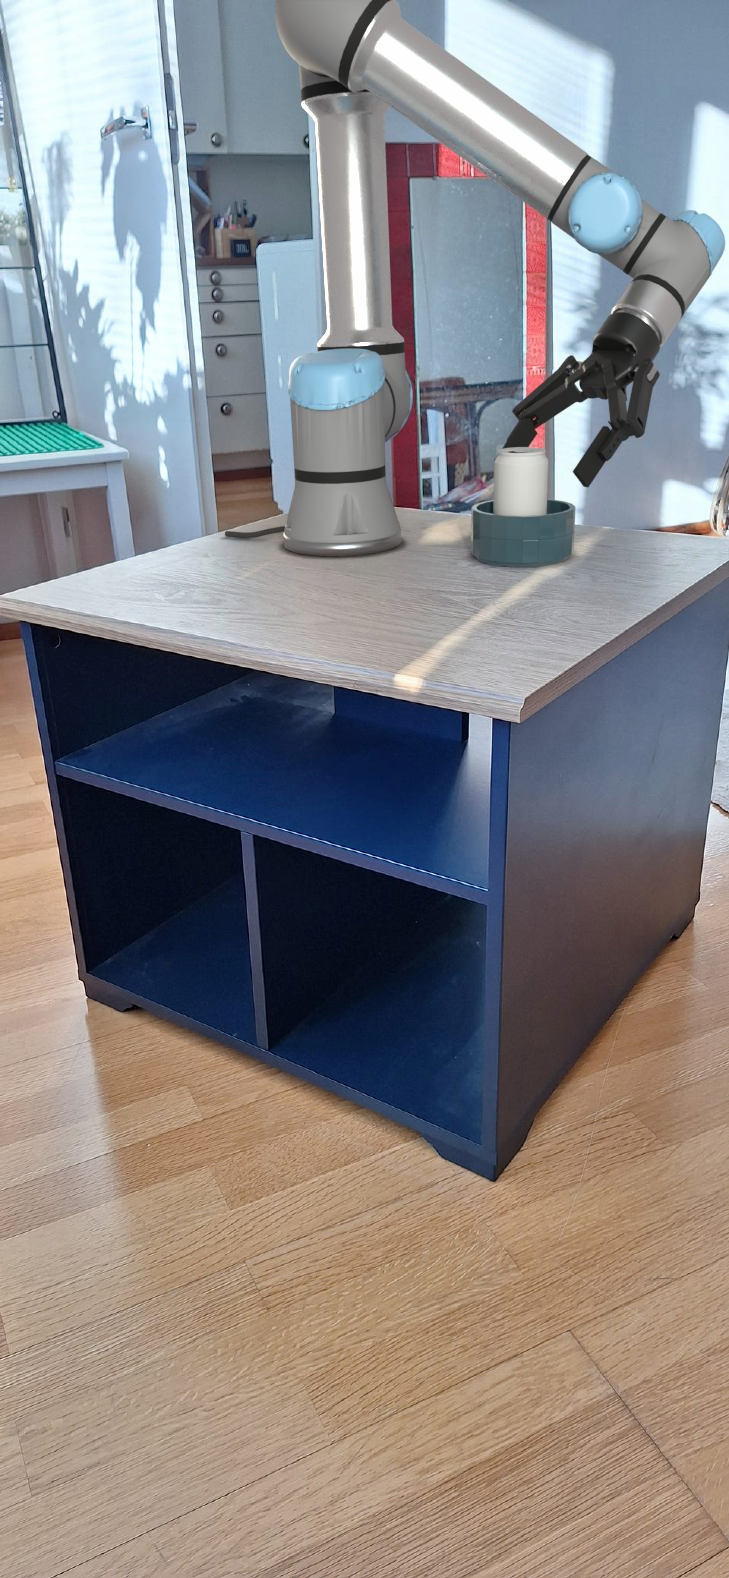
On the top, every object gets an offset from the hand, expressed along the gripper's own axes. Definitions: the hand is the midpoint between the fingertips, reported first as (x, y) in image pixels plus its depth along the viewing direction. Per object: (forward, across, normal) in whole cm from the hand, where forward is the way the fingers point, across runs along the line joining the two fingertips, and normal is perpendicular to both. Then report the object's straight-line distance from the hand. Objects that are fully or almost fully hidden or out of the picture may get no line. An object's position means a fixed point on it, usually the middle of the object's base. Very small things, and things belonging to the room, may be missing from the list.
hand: (539, 473), depth 133 cm
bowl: (+8, 0, -5) cm, 10 cm away
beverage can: (+8, +1, -5) cm, 9 cm away
